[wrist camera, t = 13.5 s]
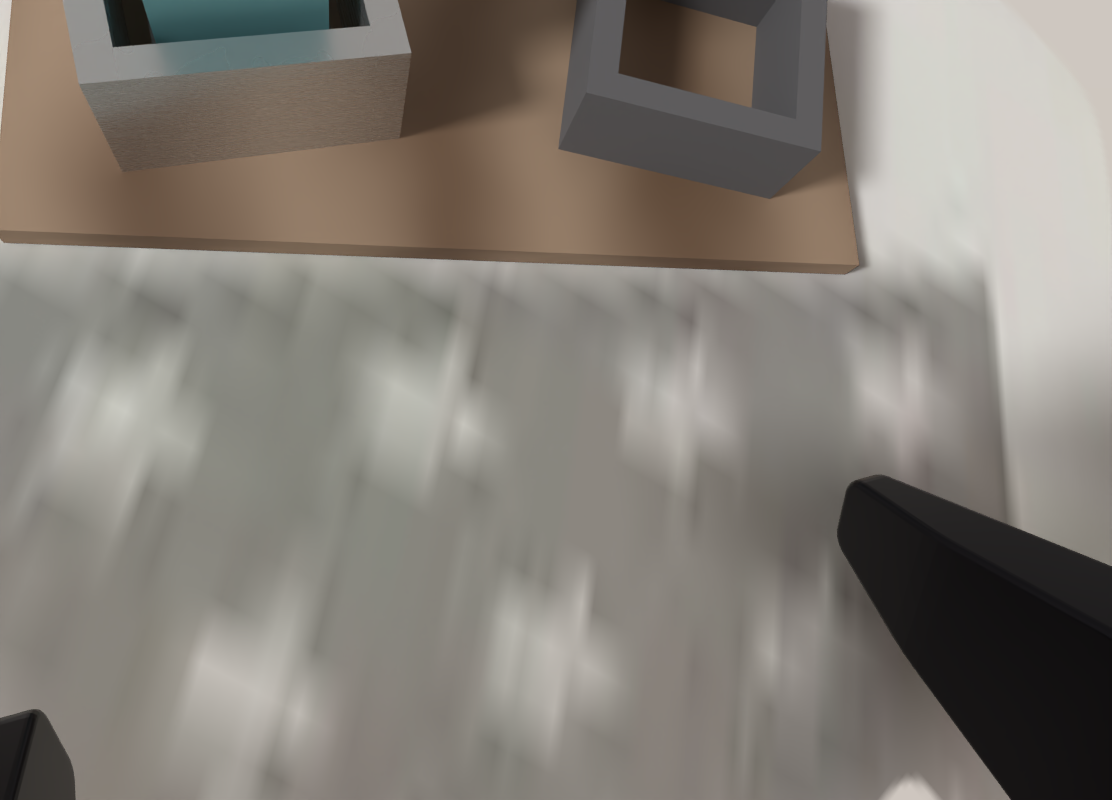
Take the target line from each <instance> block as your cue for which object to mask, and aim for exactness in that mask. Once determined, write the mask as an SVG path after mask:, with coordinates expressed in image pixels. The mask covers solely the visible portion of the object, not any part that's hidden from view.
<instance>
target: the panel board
mask: <svg viewBox="0 0 1112 800" xmlns="http://www.w3.org/2000/svg"><path fill="white" fill-rule="evenodd" d="M121 1H122V6H123V11H124V16H125V21H126V26H127V31H128V36H129V40H130V45H131V46H134V45H146V44H152V39H151V35H150V30H149V26H148V21H147V17H146V12H145V8H144V4H143V1H142V0H121ZM398 3H399V7H400V11H401V15H402V19H403V22H404V26H405V30H406V34H407V38H408V42H409V45H410V49H411V60H410V67H409V74H408V82H407V89H406V96H405V103H404V110H403V117H402V125H401V132H400V138H398V139H390V140H382V141H374V142H366V143H357V144H349V145H341V146H333V147H325V148H316V149H308V150H300V151H292V152H284V153H275V154H267V155H259V156H251V157H243V158H235V159H226V160H218V161H210V162H202V163H194V164H185V165H177V166H169V167H161V168H153V169H144V170H136V171H128V172H122V170H121V168H120V166H119V164H118V162H117V160H116V158H115V156H114V154H113V152H112V150H111V148H110V146H109V144H108V142H107V140H106V138H105V136H104V134H103V132H102V130H101V128H100V126H99V124H98V122H97V120H96V118H95V116H94V114H93V112H92V110H91V108H90V106H89V104H88V102H87V100H86V98H85V96H84V94H83V92H82V90H81V88H80V86H79V83H78V78H77V73H76V68H75V62H74V57H73V52H72V47H71V42H70V37H69V31H68V26H67V21H66V16H65V11H64V5H63V0H12V6H11V18H10V29H9V41H8V52H7V64H6V75H5V87H4V98H3V110H2V121H1V133H0V239H1V240H2V241H3V242H4V243H28V244H54V245H81V246H107V247H134V248H161V249H187V250H214V251H240V252H267V253H293V254H320V255H346V256H373V257H400V258H426V259H453V260H479V261H506V262H532V263H559V264H585V265H612V266H639V267H665V268H692V269H718V270H745V271H771V272H798V273H824V274H846V273H848V272H849V271H851V270H853V269H854V268H856V267H857V266H859V259H858V252H857V245H856V238H855V231H854V223H853V216H852V209H851V202H850V195H849V187H848V180H847V173H846V166H845V159H844V151H843V144H842V137H841V130H840V123H839V115H838V108H837V101H836V94H835V87H834V79H833V72H832V65H831V58H830V51H829V43H828V36H827V29H826V42H825V67H824V92H823V117H822V143H821V152H820V153H819V154H818V155H817V156H816V157H815V158H814V159H812V160H811V161H810V162H809V163H808V164H807V165H806V166H805V167H804V168H803V169H802V170H801V171H799V172H798V173H797V174H796V175H795V176H794V177H793V178H792V179H791V180H790V181H789V182H788V183H786V184H785V185H784V186H783V187H782V188H781V189H780V190H779V191H778V192H777V193H776V194H775V195H774V196H772V197H771V198H770V199H768V198H763V197H759V196H755V195H751V194H746V193H742V192H738V191H734V190H729V189H725V188H721V187H717V186H712V185H708V184H704V183H700V182H695V181H691V180H687V179H683V178H679V177H674V176H670V175H666V174H662V173H657V172H653V171H649V170H645V169H640V168H636V167H632V166H628V165H623V164H619V163H615V162H611V161H606V160H602V159H598V158H594V157H589V156H585V155H581V154H577V153H572V152H568V151H564V150H560V149H558V147H559V139H560V131H561V123H562V115H563V107H564V99H565V91H566V83H567V75H568V67H569V59H570V51H571V43H572V35H573V27H574V19H575V12H576V4H577V0H398ZM329 23H330V26H331V29H338V28H343V27H342V23H341V19H340V15H339V11H338V7H337V3H336V0H329ZM756 28H757V27H754V26H751V25H747V24H744V23H740V22H736V21H733V20H729V19H726V18H722V17H719V16H715V15H711V14H708V13H704V12H701V11H697V10H694V9H690V8H686V7H683V6H679V5H676V4H672V3H668V2H665V1H661V0H626V7H625V16H624V25H623V34H622V44H621V53H620V62H619V71H618V73H619V74H623V75H627V76H630V77H634V78H638V79H642V80H646V81H650V82H654V83H658V84H661V85H665V86H669V87H673V88H677V89H681V90H685V91H689V92H692V93H696V94H700V95H704V96H708V97H712V98H716V99H720V100H723V101H727V102H731V103H735V104H739V105H743V106H747V107H752V91H753V75H754V59H755V43H756Z"/></svg>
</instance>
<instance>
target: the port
mask: <svg viewBox="0 0 1112 800" xmlns="http://www.w3.org/2000/svg"><path fill="white" fill-rule="evenodd" d="M336 3H337V7H338V11H339V15H340V19H341V23H342V27H343V28H338V29H326V30H314V31H302V32H290V33H278V34H266V35H254V36H242V37H230V38H218V39H206V40H194V41H182V42H170V43H158V44H146V45H134V46H131V45H130V40H129V36H128V31H127V26H126V21H125V16H124V11H123V6H122V1H121V0H63V5H64V11H65V16H66V21H67V26H68V31H69V37H70V42H71V47H72V52H73V57H74V62H75V68H76V73H77V78H78V83H79V86H80V88H81V90H82V92H83V94H84V96H85V98H86V100H87V102H88V104H89V106H90V108H91V110H92V112H93V114H94V116H95V118H96V120H97V122H98V124H99V126H100V128H101V130H102V132H103V134H104V136H105V138H106V140H107V142H108V144H109V146H110V148H111V150H112V152H113V154H114V156H115V158H116V160H117V162H118V164H119V166H120V168H121V170H122V172H128V171H136V170H144V169H153V168H161V167H169V166H177V165H185V164H194V163H202V162H210V161H218V160H226V159H235V158H243V157H251V156H259V155H267V154H275V153H284V152H292V151H300V150H308V149H316V148H325V147H333V146H341V145H349V144H357V143H366V142H374V141H382V140H390V139H398V138H400V132H401V125H402V117H403V110H404V103H405V96H406V89H407V82H408V74H409V67H410V60H411V49H410V45H409V42H408V38H407V34H406V30H405V26H404V22H403V19H402V15H401V11H400V7H399V3H398V0H336Z"/></svg>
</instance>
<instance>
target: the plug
mask: <svg viewBox="0 0 1112 800" xmlns="http://www.w3.org/2000/svg"><path fill="white" fill-rule="evenodd" d="M142 1H143V4H144V8H145V12H146V17H147V21H148V26H149V30H150V35H151V39H152V44H158V43H170V42H182V41H194V40H206V39H218V38H230V37H242V36H254V35H266V34H278V33H290V32H302V31H314V30H326V29H331V26H330V23H329V0H142Z"/></svg>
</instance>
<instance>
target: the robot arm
mask: <svg viewBox="0 0 1112 800" xmlns="http://www.w3.org/2000/svg"><path fill="white" fill-rule="evenodd" d="M837 537H838V542H839V545H840V548H841V550H842V552H843V554H844V555H845V557H846V559H847V560H848V562H849V564H850V565H851V567H852V569H853V570H854V572H855V574H856V575H857V577H858V579H859V581H860V582H861V584H862V586H863V587H864V589H865V591H866V592H867V594H868V596H869V597H870V599H871V601H872V602H873V604H874V606H875V607H876V609H877V611H878V612H879V614H880V616H881V618H882V619H883V621H884V623H885V624H886V626H887V628H888V629H889V631H890V633H891V634H892V636H893V638H894V639H895V641H896V642H897V644H898V645H899V647H900V649H901V650H902V652H903V653H904V655H905V656H906V657H907V659H908V660H909V662H910V663H911V665H912V666H913V667H914V669H915V670H916V672H917V673H918V674H919V676H920V677H921V678H922V680H923V681H924V682H925V684H926V685H927V687H928V688H929V689H930V691H931V692H932V693H933V695H934V696H935V697H936V699H937V700H938V701H939V703H940V704H941V706H942V707H943V708H944V710H945V711H946V712H947V714H948V715H949V716H950V718H951V719H952V720H953V722H954V723H955V725H956V726H957V727H958V729H959V730H960V731H961V733H962V734H963V735H964V737H965V738H966V739H967V741H968V742H969V743H970V745H971V746H972V748H973V749H974V750H975V752H976V753H977V754H978V756H979V757H980V758H981V760H982V761H983V762H984V764H985V765H986V767H987V768H988V769H989V771H990V772H991V773H992V775H993V776H994V777H995V779H996V780H997V781H998V783H999V784H1000V786H1001V787H1002V788H1003V790H1004V791H1005V792H1006V794H1007V795H1008V796H1009V798H1010V799H1011V800H1112V566H1110V565H1107V564H1105V563H1102V562H1100V561H1097V560H1095V559H1092V558H1090V557H1087V556H1085V555H1082V554H1080V553H1077V552H1075V551H1072V550H1070V549H1067V548H1065V547H1062V546H1060V545H1057V544H1055V543H1052V542H1050V541H1047V540H1045V539H1042V538H1040V537H1037V536H1035V535H1032V534H1030V533H1027V532H1025V531H1022V530H1020V529H1017V528H1015V527H1013V526H1010V525H1008V524H1005V523H1003V522H1000V521H998V520H995V519H993V518H990V517H988V516H985V515H983V514H980V513H978V512H975V511H973V510H970V509H968V508H965V507H963V506H960V505H958V504H955V503H953V502H950V501H948V500H945V499H943V498H940V497H938V496H935V495H933V494H930V493H928V492H925V491H923V490H920V489H918V488H915V487H913V486H910V485H908V484H905V483H903V482H900V481H898V480H896V479H893V478H891V477H888V476H885V475H873V476H869V477H866V478H862V479H859V480H855V481H853V482H851V483H850V485H849V486H848V487H847V490H846V493H845V497H844V502H843V506H842V510H841V515H840V519H839V524H838V528H837ZM0 800H76V799H75V778H74V772H73V767H72V764H71V761H70V758H69V756H68V754H67V753H66V751H65V749H64V747H63V745H62V743H61V742H60V740H59V738H58V736H57V734H56V732H55V731H54V729H53V727H52V725H51V723H50V721H49V720H48V718H47V716H46V715H45V714H44V713H43V712H42V711H41V710H38V709H31V710H28V711H24V712H20V713H17V714H13V715H10V716H6V717H2V718H0Z"/></svg>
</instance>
